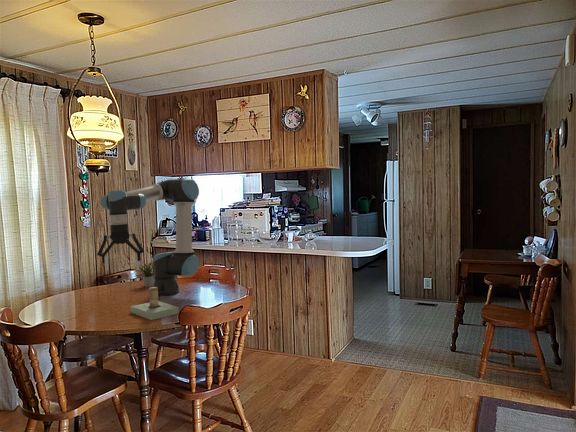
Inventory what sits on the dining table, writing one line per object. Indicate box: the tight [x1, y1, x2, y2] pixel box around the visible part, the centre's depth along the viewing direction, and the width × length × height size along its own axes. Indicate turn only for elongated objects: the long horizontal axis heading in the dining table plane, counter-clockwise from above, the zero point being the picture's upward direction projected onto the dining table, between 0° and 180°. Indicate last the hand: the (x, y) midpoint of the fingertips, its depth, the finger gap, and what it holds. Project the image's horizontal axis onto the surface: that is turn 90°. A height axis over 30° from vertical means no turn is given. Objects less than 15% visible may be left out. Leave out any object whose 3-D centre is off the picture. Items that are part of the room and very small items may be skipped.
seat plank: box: [130, 300, 180, 321], centre depth 209 cm, size 20×14×3 cm
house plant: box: [138, 260, 154, 288], centre depth 275 cm, size 14×14×16 cm
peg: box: [148, 286, 159, 308], centre depth 209 cm, size 4×4×12 cm
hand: (122, 269), depth 205 cm, fingers open, 13 cm apart
